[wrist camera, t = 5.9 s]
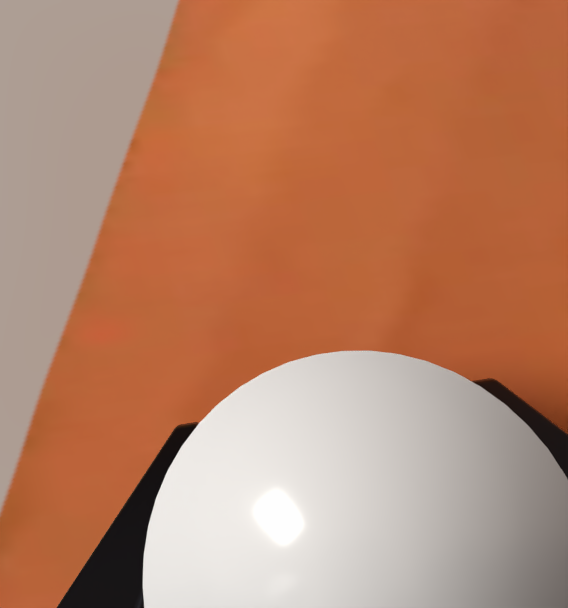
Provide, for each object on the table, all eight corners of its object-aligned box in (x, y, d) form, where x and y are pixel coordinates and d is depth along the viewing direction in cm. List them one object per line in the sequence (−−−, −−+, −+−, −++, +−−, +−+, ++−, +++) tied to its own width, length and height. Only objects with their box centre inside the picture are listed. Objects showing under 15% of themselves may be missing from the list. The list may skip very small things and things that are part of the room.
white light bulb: (435, 392, 15) (651, 434, 5) (390, 546, 14) (531, 925, 5) (288, 344, 16) (226, 296, 6) (240, 490, 15) (78, 719, 5)
